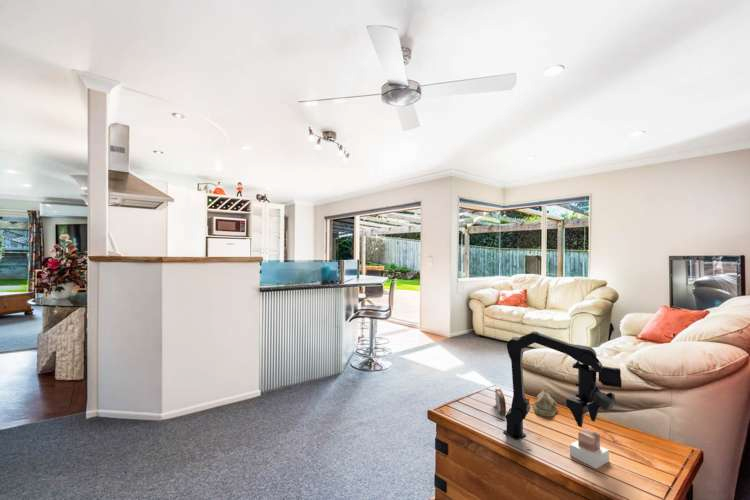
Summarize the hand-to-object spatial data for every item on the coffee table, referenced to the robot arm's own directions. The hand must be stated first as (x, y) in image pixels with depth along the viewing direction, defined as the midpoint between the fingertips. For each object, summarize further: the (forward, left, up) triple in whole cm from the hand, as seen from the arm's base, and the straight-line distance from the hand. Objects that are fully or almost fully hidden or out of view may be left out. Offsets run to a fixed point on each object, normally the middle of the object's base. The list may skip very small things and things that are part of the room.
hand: (586, 423), depth 121 cm
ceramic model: (+23, +30, -12) cm, 39 cm away
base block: (0, -1, -12) cm, 12 cm away
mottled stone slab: (+4, +41, -12) cm, 43 cm away
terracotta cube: (0, -1, -8) cm, 8 cm away
